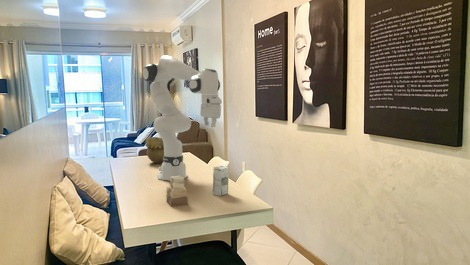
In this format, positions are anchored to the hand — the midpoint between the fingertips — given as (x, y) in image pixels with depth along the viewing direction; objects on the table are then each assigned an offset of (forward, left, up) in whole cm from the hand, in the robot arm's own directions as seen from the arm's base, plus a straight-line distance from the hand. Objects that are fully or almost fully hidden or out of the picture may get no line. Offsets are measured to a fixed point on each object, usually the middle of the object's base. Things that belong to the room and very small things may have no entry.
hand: (209, 126), depth 188 cm
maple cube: (+14, -22, -28) cm, 38 cm away
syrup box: (+8, +3, -35) cm, 36 cm away
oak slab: (+13, -22, -32) cm, 41 cm away
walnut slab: (+14, -22, -36) cm, 44 cm away
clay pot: (-88, -6, -35) cm, 95 cm away
